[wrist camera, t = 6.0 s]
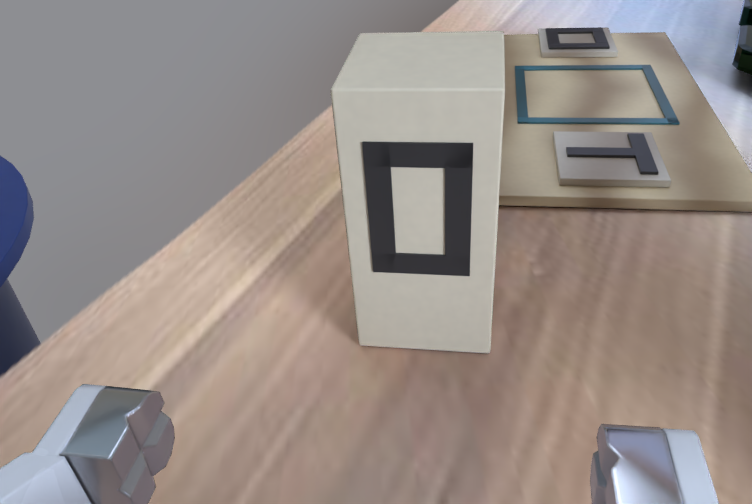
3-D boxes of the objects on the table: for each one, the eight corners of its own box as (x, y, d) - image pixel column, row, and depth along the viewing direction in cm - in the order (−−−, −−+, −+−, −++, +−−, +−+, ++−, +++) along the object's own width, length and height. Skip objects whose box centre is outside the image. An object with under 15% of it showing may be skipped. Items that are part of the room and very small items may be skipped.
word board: (473, 205, 31) (474, 184, 30) (483, 42, 49) (483, 27, 49) (766, 213, 29) (773, 190, 28) (663, 40, 47) (666, 24, 47)
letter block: (358, 347, 24) (329, 90, 18) (377, 266, 28) (359, 32, 22) (490, 356, 23) (505, 90, 17) (491, 271, 27) (504, 30, 21)
